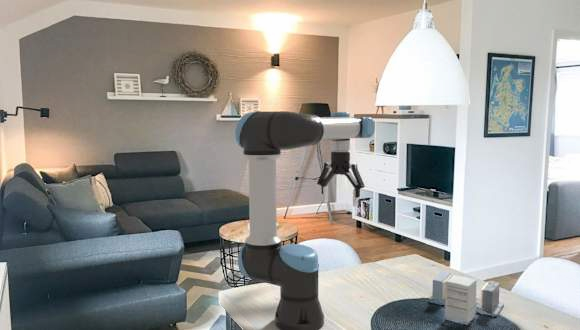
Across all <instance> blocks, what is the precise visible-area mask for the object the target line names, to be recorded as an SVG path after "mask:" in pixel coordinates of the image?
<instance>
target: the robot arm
mask: <svg viewBox="0 0 580 330" xmlns="http://www.w3.org/2000/svg"><path fill="white" fill-rule="evenodd" d="M375 126H376V125H375V121H374V119H373V118H372V117H370V116H369V117H368V116H351V114H350V113H349V111H348V112H347V111H337V112H336V111H335V112H334V111H333V112H331V114H330V116H322V117H319V116H318V115H315V114H307V113H306V114H305V113H300V112H294V111H286V110H284V111H283V110H282V111H278V110H277V111H260V110H258V111H251V112H247V113H245V114H243V115H242V116H241V118H240V119H239V120H238V121H237V123H236V127H235V141H236V143H237V144H238V146H239V147H240V148H242V149H243V156H244V157H245V158H246V160H248V198H249V199H248V200H249V201H248V203H249V204H248V206H249V207H248V208H249V210H248V211H249V235H248V236H247V237H246V238H245V240H244V244H242V246H241V247H240V249H239V250H240V252H238V255H237V266H238V269H239V271H240V273H241V274H242V276H244V277H246V278H247V279H250V280H253V281H255V282H259V283H265V284H270V285H272V286H273V285H274V286H278V287H280V288H279V289H280V290H279V291H280V292H279V293H280V295H279V296H280V298H279V302H278V303H277V304H278V305H277V307H276V311H275V315H274V324H275V326H276V327H277V328H278V329H279V330H319V329H321V328H323V327H324V324H325V314H324V312H323V307H322V306H321V305H322V304H321V303H320V299H319V267H320V264H319V256H318V255H319V254H318V253H317V251H316V250H315V249H314V248H312V247H310V246H307V245H304V244H299V243H297V244H295V243H287V244H284V245H282V237H280V236H279V235H278V233H277V230H278V228H277V227H278V226H277V225H278V223H277V159H278V158H279V157H280V156H281V153H282V151H283V150H284V151H287V150H294V149H300V148H303V147H309V146H315V145H318V144H319V143H320V142H328V141H330V151H331V152H330V161H331V162H330V161H329V162H324V163H323V168H322V172H321V173H320V175H319V177H318V180H317V183H316V184H317V185H320V186H321V195H322V203H329V186H328V184H329V183H330V181H331V180H332V179H333V177H334V176H335V175H340V176H343V175H344V176H345V177H346V178H347V179H348V181H349V182H350V184H351V185H352V187H353V188H354V189H352V206H353V207H357V206H359V198H360V196H361V193H360V192H361V189H363V188H365V183H364V181H363V178H362V176H361V174H360V172H359V169H358V168H359V167H358V164H357V163H352V164H351V163H350V161H351V152H350V149H351V139H371V138H372V137H373V136H374V134H375V130H376V129H375V128H376V127H375ZM330 168H331V171H329V170H330ZM350 170H351V171H352V172H351V171H350ZM328 172H329V173H328Z"/></svg>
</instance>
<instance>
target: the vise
mask: <svg viewBox="0 0 580 330" xmlns="http://www.w3.org/2000/svg"><path fill="white" fill-rule="evenodd" d="M428 299H432V295H431V296H430V297H429V298H428ZM476 307H479V308H481V309H482V310H483V311H485V312H487V313H490V314H493V315H498V316H499V314H500V312H502V310H503V308H504V307H505V303H504V302H500V281H499V282H498V281H494V280H490V281H487V282H486V283H485V284H484V286H483V287H482V288H481V289H480V298H479V297H476Z"/></svg>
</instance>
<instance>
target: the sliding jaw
mask: <svg viewBox="0 0 580 330" xmlns="http://www.w3.org/2000/svg"><path fill="white" fill-rule="evenodd" d="M452 276H453V274H452V273H451V272H445V271H442V272H440V273H439V274H438V275H437V276H435V277H434V278H433V279H432V295H431V296H432V299H438V300H444V299H445V288H446V281H447V280H448V279H450V278H451V277H452Z"/></svg>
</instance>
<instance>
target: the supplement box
mask: <svg viewBox="0 0 580 330" xmlns="http://www.w3.org/2000/svg"><path fill="white" fill-rule="evenodd" d="M476 298H477V279H475V278H470V277H464V276H459V275H455V274H454V275H453V274H452V277H451V278H450V279H448V280H447V281H446V288H445V306H444V317H445V316H447V317H449V318H452V319H456V320H460V321H465V322H469V321H470V320H471V319H472V318H473V317H474V316H475V314H476V315H477V313H476Z"/></svg>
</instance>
